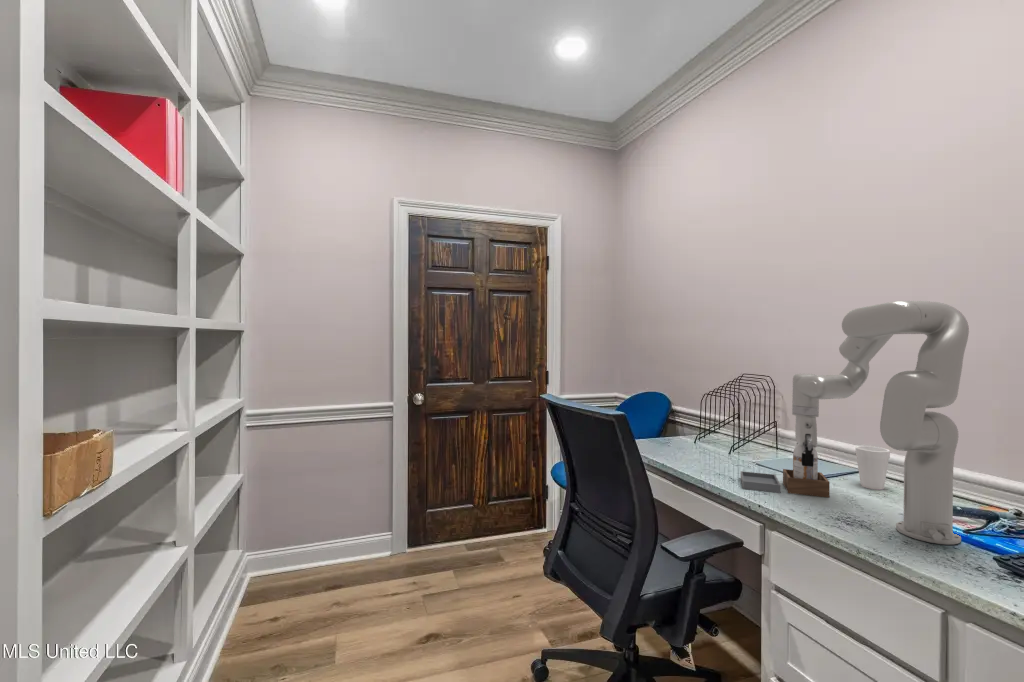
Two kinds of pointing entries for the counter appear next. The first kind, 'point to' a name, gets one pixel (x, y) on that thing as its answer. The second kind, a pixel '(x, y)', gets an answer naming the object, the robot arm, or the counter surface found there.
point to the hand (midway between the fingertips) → (804, 462)
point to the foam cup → (872, 466)
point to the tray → (760, 482)
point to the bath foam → (804, 471)
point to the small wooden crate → (806, 485)
